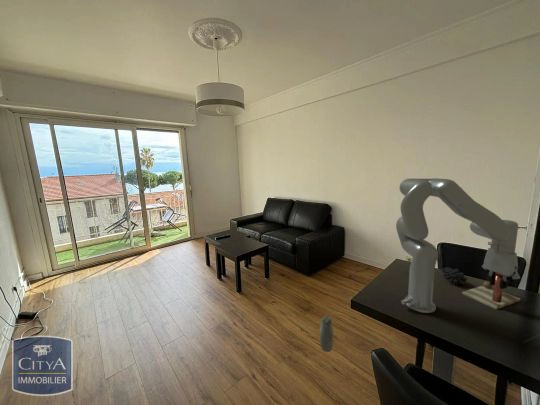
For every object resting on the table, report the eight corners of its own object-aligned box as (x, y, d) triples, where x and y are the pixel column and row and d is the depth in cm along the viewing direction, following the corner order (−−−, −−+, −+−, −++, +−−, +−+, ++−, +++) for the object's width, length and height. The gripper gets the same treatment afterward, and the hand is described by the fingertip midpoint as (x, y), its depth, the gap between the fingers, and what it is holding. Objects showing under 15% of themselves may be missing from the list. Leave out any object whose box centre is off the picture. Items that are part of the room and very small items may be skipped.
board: (496, 309, 104) (497, 300, 103) (462, 293, 117) (462, 285, 116) (519, 300, 109) (521, 291, 108) (484, 286, 122) (485, 278, 122)
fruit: (435, 278, 137) (457, 289, 122) (432, 266, 136) (453, 275, 121) (448, 273, 137) (472, 284, 122) (445, 261, 137) (468, 270, 122)
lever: (503, 305, 102) (506, 277, 100) (489, 301, 106) (492, 274, 104) (503, 288, 116) (506, 263, 114) (491, 285, 119) (493, 261, 117)
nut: (489, 290, 117) (490, 283, 116) (481, 286, 120) (481, 280, 120) (494, 288, 118) (494, 282, 117) (485, 285, 121) (486, 279, 121)
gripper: (475, 243, 108) (471, 279, 110) (522, 255, 92) (516, 297, 95) (485, 241, 110) (481, 276, 113) (533, 252, 95) (527, 293, 97)
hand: (498, 285), depth 104 cm, fingers closed on lever, 3 cm apart
